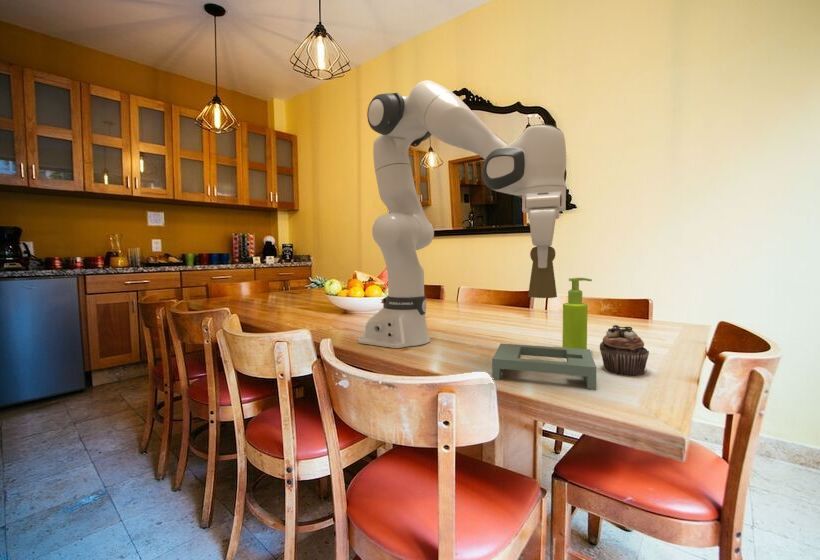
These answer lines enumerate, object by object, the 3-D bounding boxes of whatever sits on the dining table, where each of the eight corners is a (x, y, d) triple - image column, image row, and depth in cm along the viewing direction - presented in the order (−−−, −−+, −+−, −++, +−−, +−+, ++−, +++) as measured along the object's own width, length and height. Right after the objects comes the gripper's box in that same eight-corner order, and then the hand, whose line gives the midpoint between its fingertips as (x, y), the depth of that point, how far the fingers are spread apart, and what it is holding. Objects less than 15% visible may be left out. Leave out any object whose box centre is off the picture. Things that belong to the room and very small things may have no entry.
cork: (559, 298, 78) (560, 245, 77) (529, 297, 79) (529, 246, 79) (554, 294, 84) (555, 245, 83) (526, 294, 85) (526, 246, 85)
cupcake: (650, 380, 78) (651, 332, 77) (598, 373, 83) (599, 328, 82) (647, 367, 86) (648, 324, 85) (600, 362, 91) (600, 321, 90)
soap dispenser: (594, 356, 96) (596, 278, 94) (567, 356, 96) (568, 278, 94) (584, 350, 102) (585, 276, 100) (559, 350, 102) (559, 277, 100)
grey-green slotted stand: (492, 379, 80) (492, 358, 80) (500, 361, 93) (500, 343, 93) (596, 389, 73) (596, 367, 73) (589, 368, 86) (589, 349, 86)
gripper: (530, 208, 91) (530, 265, 92) (525, 198, 72) (524, 269, 73) (558, 207, 89) (557, 265, 90) (560, 195, 70) (559, 269, 71)
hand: (542, 267), depth 81 cm, fingers closed on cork, 4 cm apart
